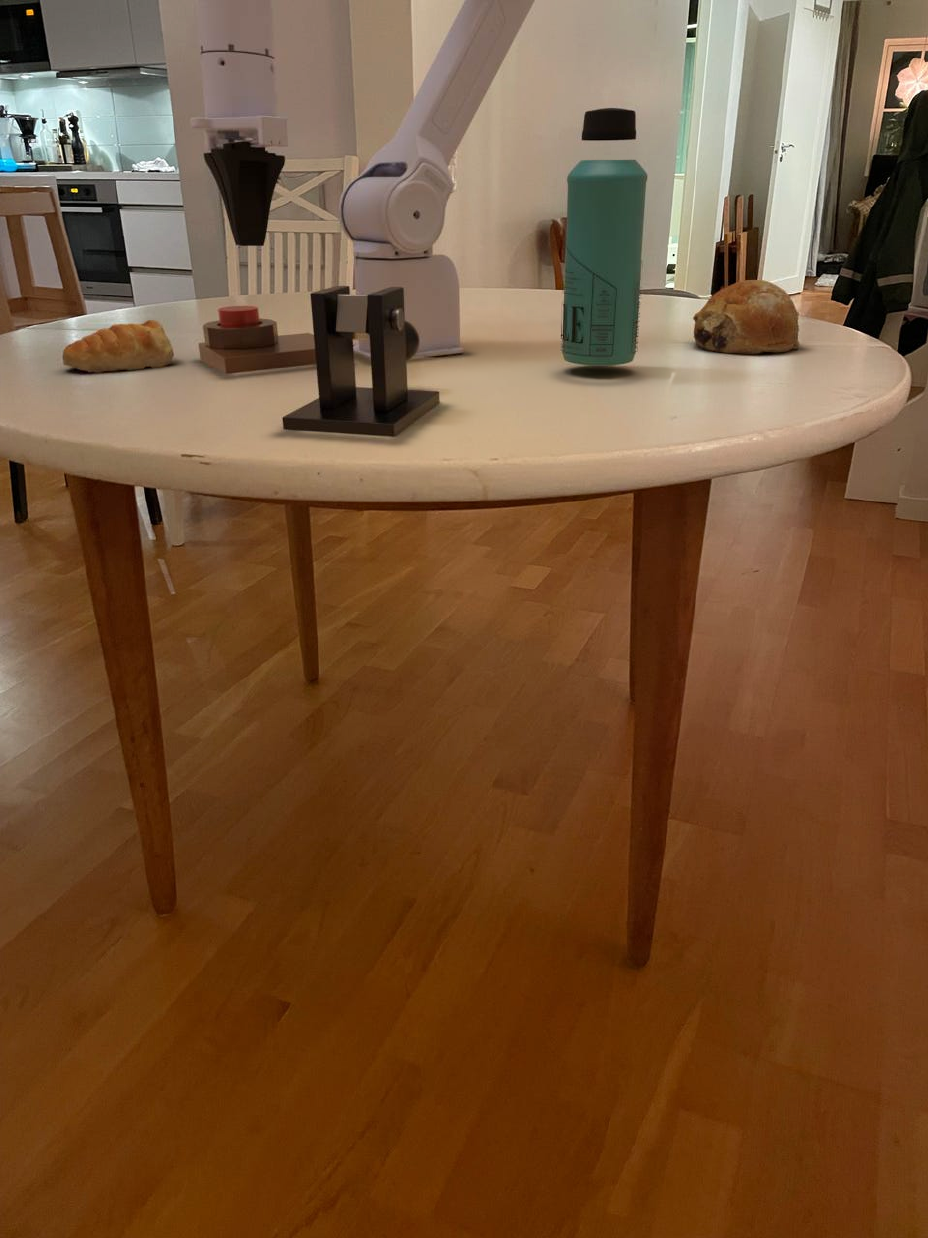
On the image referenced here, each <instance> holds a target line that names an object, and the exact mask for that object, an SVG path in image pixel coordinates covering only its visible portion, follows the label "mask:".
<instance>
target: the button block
mask: <svg viewBox="0 0 928 1238" xmlns="http://www.w3.org/2000/svg"><path fill="white" fill-rule="evenodd" d="M259 321H260V324H259V325H254V326H244V327H224V326H220V321H219V320H212V321H208V322H205V324H203V325H202V329H203V337H204V342H198V351H199V357H200V362H201V363H203V364H204V365H206V366H208V367H210V368H211V369H212V368H216V369H218V370H220V371H221V372H223V373H224V374H227V375H228V374H236V373H244V372H255V371H264V370H273V369H282V368H291V367H303V366H309V365H311V366H312V365H316V355H315V343H314V333H310V332H303V333H292V334H291V333H290V334H281V335H279V332H278V322H277V321H275V320H273V319H270V318H260V317H259Z"/></svg>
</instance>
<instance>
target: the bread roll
mask: <svg viewBox="0 0 928 1238" xmlns="http://www.w3.org/2000/svg"><path fill="white" fill-rule="evenodd" d="M799 316H800V313H799V312H798V310H797V309H796V306H795V303H794V301H793V300H792V298H791V297H790V295H789V294H788V293H787V292H786V290H785V289H783V288H781V287H780V286H778V285H776V284H774V283H773V282H770V281H767V280H764V279H748V280H747V279H746V280H740V281H738V282H735V283H733V284H730V285H728V286H726V287H724V288H721V289H720V290H719V291H717V292H716V293H714V294H713V295H712V296H711V297H710V298H709V299H708V300H707V301H706V302H705V304H704V305H703V307H702V308H701V309H700V310H699V311H698V312H696V313H695V314H694V315H693V317H692V319H693V320H694V322H695V323H694V328H693V338H694V341H695V343H696V344H697V345H698V346H699V347H700V348H701V349H705V350H707V351H711V352H718V353H725V354H740V355H760V354H762V353H786V352H789V351H790V350H797V349H798V348H799V346H800V341H799V331H800V328H799V327H800V325H799Z"/></svg>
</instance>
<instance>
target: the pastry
mask: <svg viewBox="0 0 928 1238" xmlns="http://www.w3.org/2000/svg"><path fill="white" fill-rule="evenodd" d="M174 356H175V353H174V349H173V346H172V343H171V339H169V336H167V334H166V332H165V330H164V326H163V324H161V323H160V322H159V321H157V320H155V319H149V320H146V321H144V322H143V323H140V324H138V323H128V324H127V323H126V324H125V323H118V324H112V325H111V326H109V327H108V328H106V327H105V328H100V329H98V330H97V331H96V332H93V333H91V334H89V335H86V336H83V337H82V338H81V339H79V340H75V341H73V342H72V343H70V344H67V345H66V346H65V348H64V349H63V351H62V356H61V357H62V365H64V366H67V367H70V368H74V369H77V370H80V371H85V372H88V373H89V374H90V373H100V374H101V373H103V372H117V371H120V370H127V371H135V370H143V369H144V368H146V367H151V368H152V369H155V368H162V367H165V366H169V365H172V364H173V363H172V361H173V358H174Z"/></svg>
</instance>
